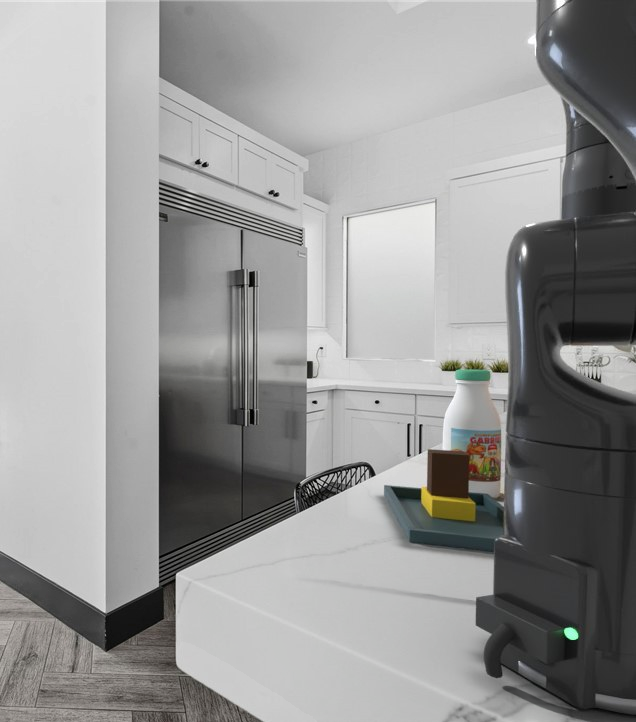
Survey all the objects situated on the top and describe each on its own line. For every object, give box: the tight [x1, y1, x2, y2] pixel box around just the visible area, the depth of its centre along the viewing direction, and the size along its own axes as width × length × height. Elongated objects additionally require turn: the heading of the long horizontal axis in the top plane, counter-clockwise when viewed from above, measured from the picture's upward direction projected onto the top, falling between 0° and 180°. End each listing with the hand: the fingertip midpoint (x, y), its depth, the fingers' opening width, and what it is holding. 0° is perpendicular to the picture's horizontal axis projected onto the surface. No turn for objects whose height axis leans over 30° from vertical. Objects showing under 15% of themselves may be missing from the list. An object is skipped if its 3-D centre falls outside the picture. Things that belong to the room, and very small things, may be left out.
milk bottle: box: [441, 369, 502, 499], centre depth 85 cm, size 8×8×20 cm
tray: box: [383, 484, 504, 553], centre depth 71 cm, size 22×14×2 cm, turn 159°
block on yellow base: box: [421, 448, 476, 522], centre depth 75 cm, size 7×5×8 cm
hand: (600, 327), depth 63 cm, fingers open, 8 cm apart
